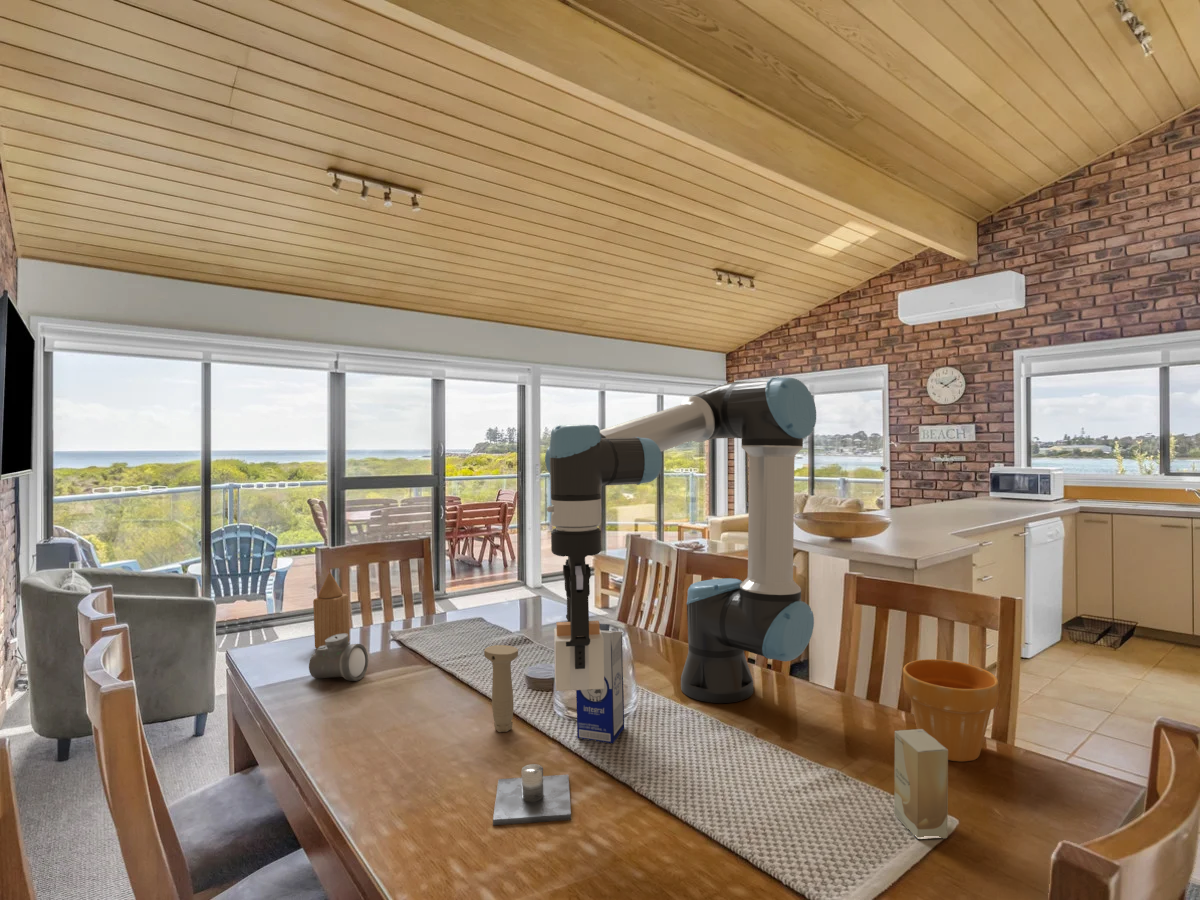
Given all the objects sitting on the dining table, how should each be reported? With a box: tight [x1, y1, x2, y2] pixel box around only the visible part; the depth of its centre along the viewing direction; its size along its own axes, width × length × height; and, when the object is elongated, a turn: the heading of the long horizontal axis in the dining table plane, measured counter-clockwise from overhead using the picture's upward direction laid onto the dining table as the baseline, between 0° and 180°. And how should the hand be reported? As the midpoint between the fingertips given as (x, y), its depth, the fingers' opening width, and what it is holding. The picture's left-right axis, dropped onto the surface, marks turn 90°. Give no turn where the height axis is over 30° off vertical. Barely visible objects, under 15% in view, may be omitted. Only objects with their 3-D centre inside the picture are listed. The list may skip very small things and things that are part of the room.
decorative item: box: [312, 571, 351, 649], centre depth 176 cm, size 7×7×20 cm
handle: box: [483, 644, 519, 733], centre depth 123 cm, size 5×6×15 cm
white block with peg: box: [553, 620, 604, 692], centre depth 99 cm, size 7×7×9 cm
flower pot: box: [902, 658, 1000, 763], centre depth 111 cm, size 14×14×13 cm
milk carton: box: [575, 623, 625, 744], centre depth 120 cm, size 7×7×20 cm
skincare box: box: [893, 728, 949, 839], centre depth 90 cm, size 6×4×12 cm
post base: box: [492, 763, 572, 826], centre depth 99 cm, size 11×11×5 cm
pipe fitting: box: [308, 633, 369, 682], centre depth 152 cm, size 12×8×10 cm, turn 76°
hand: (577, 679), depth 99 cm, fingers closed on white block with peg, 7 cm apart
